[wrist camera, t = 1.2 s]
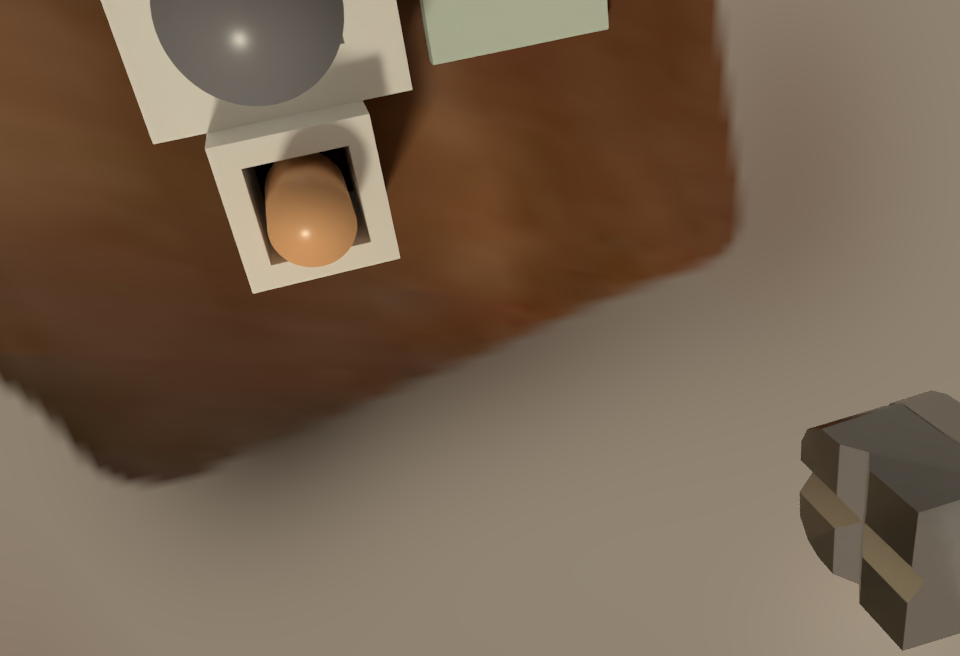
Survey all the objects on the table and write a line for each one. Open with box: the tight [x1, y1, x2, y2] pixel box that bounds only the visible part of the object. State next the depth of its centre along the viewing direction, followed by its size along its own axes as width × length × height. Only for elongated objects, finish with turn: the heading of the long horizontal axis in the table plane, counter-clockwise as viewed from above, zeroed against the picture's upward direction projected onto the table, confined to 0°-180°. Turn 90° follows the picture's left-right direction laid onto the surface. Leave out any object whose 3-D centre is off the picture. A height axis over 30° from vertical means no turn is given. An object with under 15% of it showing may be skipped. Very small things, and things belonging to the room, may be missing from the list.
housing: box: [101, 0, 413, 294], centre depth 31 cm, size 16×10×6 cm, turn 8°
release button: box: [264, 153, 357, 267], centre depth 31 cm, size 3×3×4 cm
